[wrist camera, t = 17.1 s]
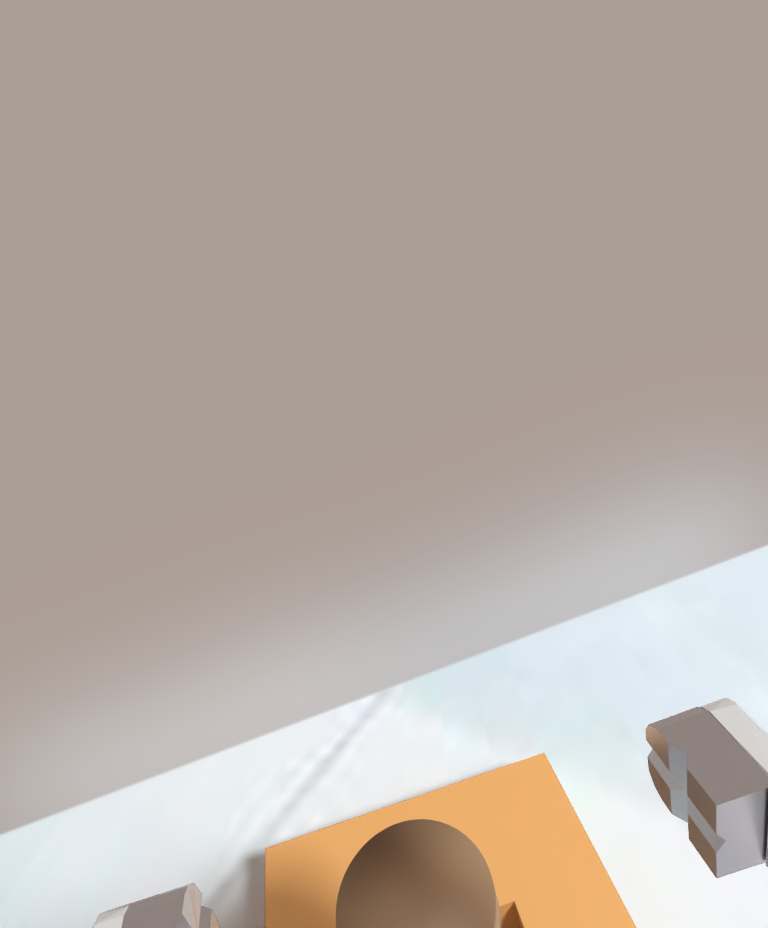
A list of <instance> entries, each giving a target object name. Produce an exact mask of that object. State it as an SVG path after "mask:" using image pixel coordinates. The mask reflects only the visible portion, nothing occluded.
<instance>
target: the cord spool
mask: <svg viewBox="0 0 768 928" xmlns="http://www.w3.org/2000/svg"><path fill="white" fill-rule="evenodd" d="M336 928H501V914H500V908H499V903H498V898H497V895H496V891H495V887H494V883H493V879H492V876H491V873H490V870H489V867H488V865H487V863H486V861H485V858H484V857H483V855H482V854H481V852H480V850H479V849H478V848H477V847H476V845H475V844H474V843H473V842H472V841H471V840H470V839H469V838H468V837H467V836H466V835H465V834H463V833H462V832H461V831H459V830H458V829H456V828H454V827H452V826H450V825H448V824H445V823H442V822H439V821H435V820H428V819H415V820H408V821H403V822H400V823H397V824H394V825H392V826H390V827H388V828H386V829H384V830H382V831H381V832H379V833H377V834H376V835H375V836H374V837H372V838H371V839H370V840H369V841H368V842H367V843H366V844H365V845H364V846H363V847H362V848H361V849H360V850H359V851H358V853H357V854H356V855H355V857H354V858H353V860H352V861H351V863H350V864H349V866H348V868H347V870H346V872H345V874H344V877H343V880H342V882H341V885H340V889H339V893H338V897H337V904H336Z"/></svg>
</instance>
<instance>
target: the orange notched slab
mask: <svg viewBox="0 0 768 928" xmlns="http://www.w3.org/2000/svg"><path fill="white" fill-rule="evenodd" d="M415 819H428V820H435V821H439V822H442V823H445V824H448V825H450V826H452V827H454V828H456V829H458V830H459V831H461V832H462V833H463V834H465V835H466V836H467V837H468V838H469V839H470V840H471V841H472V842H473V843H474V844H475V845H476V847H477V848H478V849H479V850H480V852H481V854H482V855H483V857H484V858H485V861H486V863H487V865H488V867H489V870H490V873H491V876H492V879H493V883H494V887H495V891H496V895H497V898H498V903H499V908H500V914H501V928H636V926H635V925H634V923H633V921H632V919H631V917H630V915H629V913H628V911H627V909H626V907H625V906H624V904H623V902H622V900H621V898H620V896H619V894H618V892H617V890H616V888H615V887H614V885H613V883H612V881H611V879H610V877H609V875H608V873H607V871H606V869H605V868H604V866H603V864H602V862H601V860H600V858H599V856H598V854H597V852H596V850H595V849H594V847H593V845H592V843H591V841H590V839H589V837H588V835H587V833H586V831H585V830H584V828H583V826H582V824H581V822H580V820H579V818H578V816H577V814H576V812H575V811H574V809H573V807H572V805H571V803H570V801H569V799H568V797H567V795H566V793H565V791H564V790H563V788H562V786H561V784H560V782H559V780H558V778H557V776H556V774H555V772H554V771H553V769H552V767H551V765H550V763H549V761H548V759H547V757H546V755H545V753H542V754H539V755H536V756H533V757H530V758H528V759H525V760H522V761H519V762H516V763H513V764H510V765H507V766H504V767H501V768H498V769H496V770H493V771H490V772H487V773H484V774H481V775H478V776H475V777H472V778H469V779H466V780H464V781H461V782H458V783H455V784H452V785H449V786H446V787H443V788H440V789H437V790H434V791H432V792H429V793H426V794H423V795H420V796H417V797H414V798H411V799H408V800H405V801H402V802H399V803H397V804H394V805H391V806H388V807H385V808H382V809H379V810H376V811H373V812H370V813H367V814H365V815H362V816H359V817H356V818H353V819H350V820H347V821H344V822H341V823H338V824H335V825H333V826H330V827H327V828H324V829H321V830H318V831H315V832H312V833H309V834H306V835H303V836H300V837H298V838H295V839H292V840H289V841H286V842H283V843H280V844H277V845H274V846H271V847H268V848H266V853H265V928H336V904H337V897H338V893H339V889H340V885H341V882H342V880H343V877H344V874H345V872H346V870H347V868H348V866H349V864H350V863H351V861H352V860H353V858H354V857H355V855H356V854H357V853H358V851H359V850H360V849H361V848H362V847H363V846H364V845H365V844H366V843H367V842H368V841H369V840H370V839H371V838H372V837H374V836H375V835H376V834H377V833H379V832H381V831H382V830H384V829H386V828H388V827H390V826H392V825H394V824H397V823H400V822H403V821H408V820H415Z"/></svg>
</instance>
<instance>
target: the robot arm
mask: <svg viewBox="0 0 768 928" xmlns="http://www.w3.org/2000/svg"><path fill="white" fill-rule="evenodd" d="M646 740H647V741H648V743H649V744H650V745H651V747H652V748H653V749H652V751H651V753H650V754H649V756H648V765H649V772H650V774H651V777H652V780H653V782H654V785H655V787H656V789H657V791H658V793H659V795H660V797H661V798H662V800H663V802H664V803H665V805H666V806H667V808H668V809H669V810H670V812H671V813H672V814H673V815H675V816H677V817H679V818H680V819H682V820H684V821H686V822H688V829H689V840H690V841H691V842H692V844H693V845H694V847H695V848H696V850H697V851H698V852H699V854H700V855H701V857H702V858H703V860H704V861H705V862H706V864H707V865H708V867H709V868H710V870H711V871H712V872H713V874H714V875H715V877H716V878H719V877H722V876H725V875H728V874H731V873H734V872H737V871H740V870H743V869H746V868H749V867H752V866H755V865H758V864H761V863H764V862H766V866H767V867H768V734H767V733H766V732H765V731H764V730H763V729H762V728H761V727H760V726H759V725H758V724H757V723H756V722H755V721H754V720H753V719H752V718H751V717H750V716H749V715H748V714H747V713H746V712H745V711H744V710H743V709H742V708H741V707H740V706H739V705H738V704H737V703H736V702H734V701H732V700H730V699H728V698H724V699H720V700H718V701H715V702H712V703H710V704H707V705H704V706H702V707H696V708H693V709H690V710H687V711H685V712H682V713H679V714H677V715H674V716H671V717H668V718H666V719H663V720H660V721H657V722H655V723H652V724H649V725H648V726H647V728H646ZM201 899H202V893H201V892H200V890H199V889H198V888H197V886H196V885H195V883H191V884H188V885H185V886H182V887H179V888H176V889H173V890H170V891H167V892H164V893H161V894H158V895H155V896H152V897H149V898H146V899H143V900H140V901H137V902H134V903H130V904H127V905H124V906H121V907H118V908H115V909H112V910H109V911H106V912H104V913H101V914H99V916H98V918H97V920H96V922H95V924H94V925H93V927H92V928H220V927H219V924H218V921H217V918H216V916H215V915H214V913H213V911H212V910H211V909H208V908H205V907H203V906H201Z"/></svg>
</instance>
